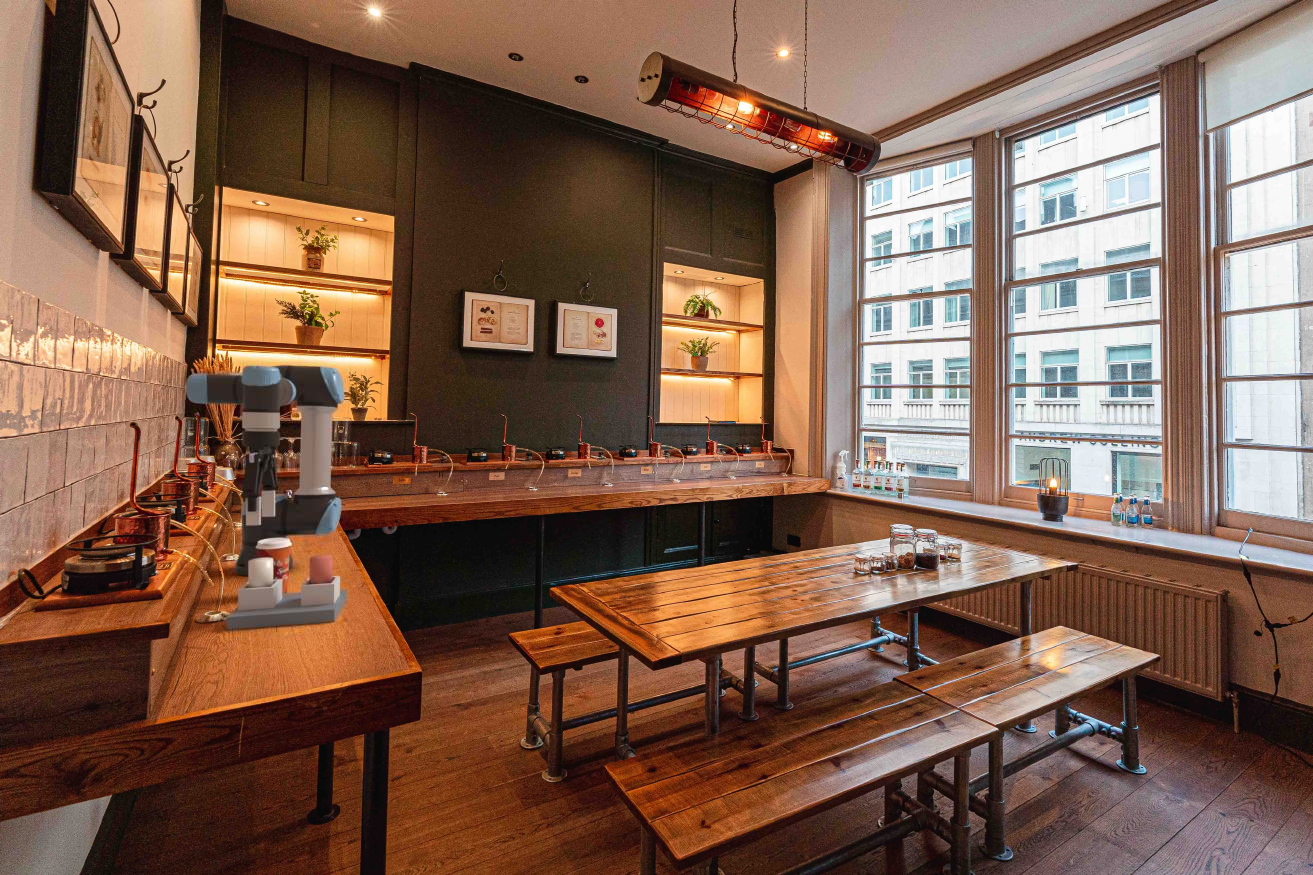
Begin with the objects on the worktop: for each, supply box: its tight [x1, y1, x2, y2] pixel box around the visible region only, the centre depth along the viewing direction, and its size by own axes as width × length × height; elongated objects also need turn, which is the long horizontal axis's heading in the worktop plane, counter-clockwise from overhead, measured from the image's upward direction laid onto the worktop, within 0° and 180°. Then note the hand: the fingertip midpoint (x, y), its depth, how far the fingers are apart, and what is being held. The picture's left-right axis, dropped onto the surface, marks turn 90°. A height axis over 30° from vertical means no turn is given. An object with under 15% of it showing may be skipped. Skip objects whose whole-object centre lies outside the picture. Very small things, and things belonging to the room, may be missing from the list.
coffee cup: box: [256, 537, 293, 594], centre depth 157 cm, size 8×8×15 cm
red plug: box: [309, 554, 334, 585], centre depth 145 cm, size 5×5×7 cm
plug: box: [247, 558, 273, 588], centre depth 140 cm, size 5×5×7 cm
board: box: [226, 575, 348, 631], centre depth 143 cm, size 16×22×8 cm
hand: (261, 520), depth 140 cm, fingers open, 10 cm apart
